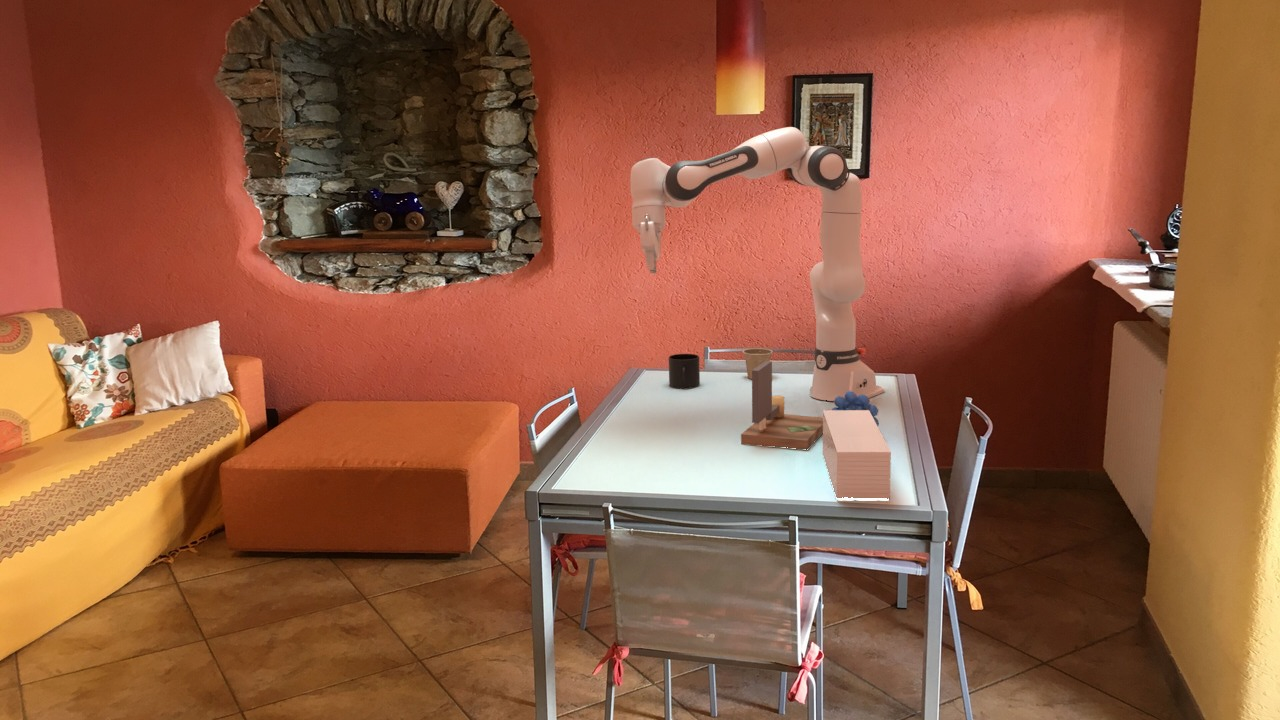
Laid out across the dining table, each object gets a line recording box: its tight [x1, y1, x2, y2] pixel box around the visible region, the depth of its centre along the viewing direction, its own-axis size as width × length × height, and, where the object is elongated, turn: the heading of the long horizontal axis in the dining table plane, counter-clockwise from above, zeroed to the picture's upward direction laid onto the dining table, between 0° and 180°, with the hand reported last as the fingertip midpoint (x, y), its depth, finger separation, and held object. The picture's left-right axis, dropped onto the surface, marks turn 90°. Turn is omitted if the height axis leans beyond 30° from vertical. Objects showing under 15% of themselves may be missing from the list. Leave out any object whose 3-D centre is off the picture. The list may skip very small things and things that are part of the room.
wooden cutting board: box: [740, 413, 823, 451], centre depth 243 cm, size 21×16×3 cm
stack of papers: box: [822, 409, 892, 499], centre depth 211 cm, size 32×11×11 cm, turn 175°
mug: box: [668, 353, 701, 390], centre depth 296 cm, size 9×12×9 cm
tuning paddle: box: [751, 360, 785, 430], centre depth 241 cm, size 21×3×16 cm, turn 155°
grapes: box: [831, 391, 880, 427], centre depth 237 cm, size 12×7×12 cm, turn 83°
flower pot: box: [742, 347, 773, 380], centre depth 304 cm, size 9×9×9 cm
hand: (652, 271), depth 256 cm, fingers open, 8 cm apart
